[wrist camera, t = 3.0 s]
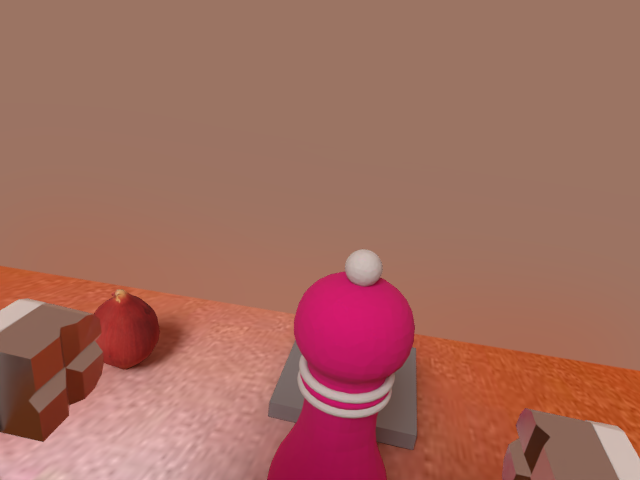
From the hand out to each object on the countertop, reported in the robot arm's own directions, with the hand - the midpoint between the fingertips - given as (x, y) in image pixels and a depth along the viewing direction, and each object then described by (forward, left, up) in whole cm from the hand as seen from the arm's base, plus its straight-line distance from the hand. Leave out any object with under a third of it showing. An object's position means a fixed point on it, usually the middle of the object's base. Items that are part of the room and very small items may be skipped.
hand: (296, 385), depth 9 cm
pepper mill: (-1, -13, -23) cm, 26 cm away
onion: (+19, -24, -23) cm, 38 cm away
